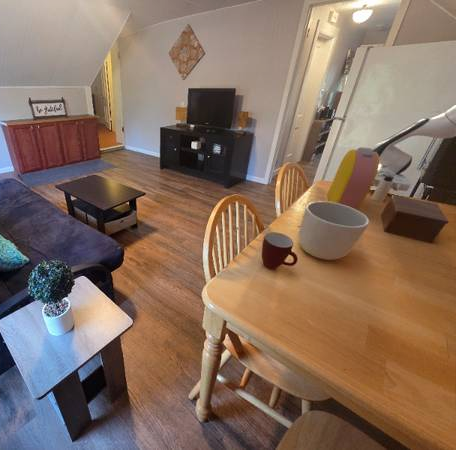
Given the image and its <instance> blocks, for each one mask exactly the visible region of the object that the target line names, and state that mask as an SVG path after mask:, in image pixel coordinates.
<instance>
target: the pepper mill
mask: <svg viewBox="0 0 456 450" xmlns="http://www.w3.org/2000/svg"><path fill="white" fill-rule="evenodd" d="M393 179H394V177H393V176H390V175H386V176H385V177H384V179H381V180H380V182H379V184H378V186H377V187H375V190H374V192H373V194H372V195H371V197H370V199H371V200H372V201H375V202H380V203H381V202H382V203H383V202H384V201H385V200H386V197H387V195H388V193H389V192H390V190H391V187H392V185H393V183H394V181H393Z"/></svg>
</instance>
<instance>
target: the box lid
mask: <svg viewBox="0 0 456 450" xmlns="http://www.w3.org/2000/svg"><path fill="white" fill-rule="evenodd" d="M390 198H392V201H393V204H394V207H395V210H396V213H399V214H404V215H408V216H413V217H417V218H422V219H427V220H431V221H436V222H441V223H445V225H446V224H447V225H448V224H449V220H448V218H447V217H446V215H445V214H444V213H443V211H442V209H441V208H440V205H438V204H437V203H435V202H430V201H429V202H428V201H425V200H418V199H413V198H408V197H403V196H398V195H391V196H390Z"/></svg>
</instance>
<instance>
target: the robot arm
mask: <svg viewBox="0 0 456 450" xmlns="http://www.w3.org/2000/svg"><path fill="white" fill-rule="evenodd" d="M416 136H418V137H419V136H420V137H428V138H432V139H440V140H441V139H442V140H443V139H444V140H445V139H450V138H455V137H456V104H455V105H453V106H452V107H451V108H449V109H447V110H446V111H445V112H443V113H441V114H439V115H437V116H433V117H431V118H422V119H420V120H418V121H416V122H414V123H412V124H410V125H408V126H406V127H405V128H403V129H402V130H400V131H398V132H397V133H394V134H393V135H390V136H389V137H388V138H385V139H383V140H382V141H379V142H377V143H376V144H374V145H373V146H371V147H370V148H371V150H372V151H373V152H376V153H378V155H379V167H378V171H377V174H376V177H375V180H374V182H373V184H372V186H371V187H375V188H377V186H378V184H379V182H380V180H381V179H384V177H385V176H386V175H390V176H393V177H394V179H393V181H394V183H393V185H392V187H391V188H390V190H391V189H392V190H393V191H395V192H396V191H397V192H398V191H403V192H407V191H408V190H409V189H410V187H411V185H412V184H411V181H410V180H409V179H408V178H407V176H406V175H405V174H402V173H403V172H405V171H406V170H407V169H409V167H410V166H411V165H412V162H413V156H412V155H410V154H409V153H407V152H405V151H404V150H402V149H400V148H398V147H397V146H396V145H397V144H399V143H401V142H402V141H405V140H407V139H408V138H411V137H416Z"/></svg>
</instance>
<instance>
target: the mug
mask: <svg viewBox="0 0 456 450" xmlns="http://www.w3.org/2000/svg"><path fill="white" fill-rule="evenodd" d="M293 247H294V240H293V239H292V238H291V237H290V236H288V235H287V234H284V233H281V232H275V231H272V232H267V233H266V234H265V235H264V237H263V240H262V246H261V259H262V262H263V265H264V267H266V268H268V269H271V270H275V269H277V268H278V267H280V266H282V265H284V266H287V267H293V266H296V264H297V263H298V260H299V258H298V255H297V253H295V252H294V251H292V250H293ZM288 256H291V257H292V258H293V261H292V262H287V261H286V259H287V258H288Z"/></svg>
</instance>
